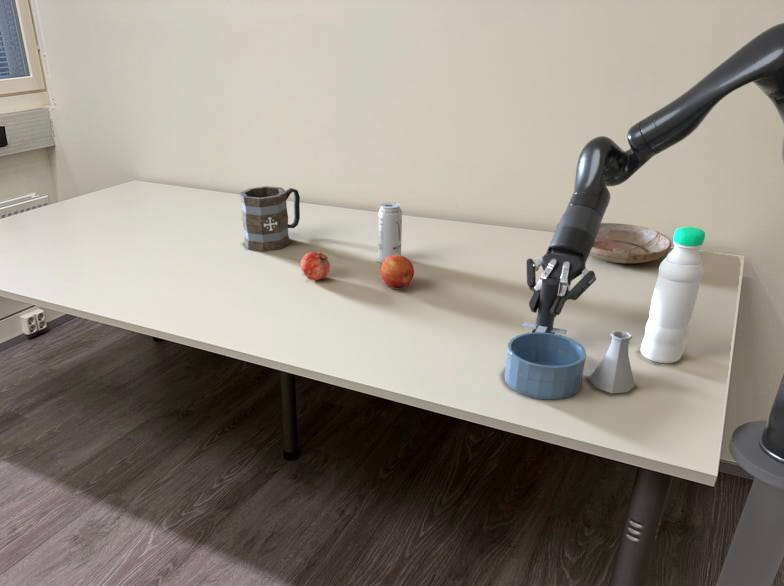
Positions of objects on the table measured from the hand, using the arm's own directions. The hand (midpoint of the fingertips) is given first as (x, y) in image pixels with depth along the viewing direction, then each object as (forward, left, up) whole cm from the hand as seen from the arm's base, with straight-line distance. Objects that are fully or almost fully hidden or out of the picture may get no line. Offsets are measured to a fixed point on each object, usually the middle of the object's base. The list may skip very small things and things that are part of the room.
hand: (542, 312), depth 128 cm
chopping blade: (0, -2, -6) cm, 7 cm away
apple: (+41, -4, -8) cm, 42 cm away
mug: (+91, -5, -8) cm, 92 cm away
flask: (-16, +2, -8) cm, 18 cm away
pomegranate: (+60, +6, -8) cm, 61 cm away
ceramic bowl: (+14, -59, -8) cm, 61 cm away
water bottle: (-18, -14, -8) cm, 24 cm away
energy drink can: (+55, -16, -8) cm, 58 cm away
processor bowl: (-7, +10, -8) cm, 14 cm away
